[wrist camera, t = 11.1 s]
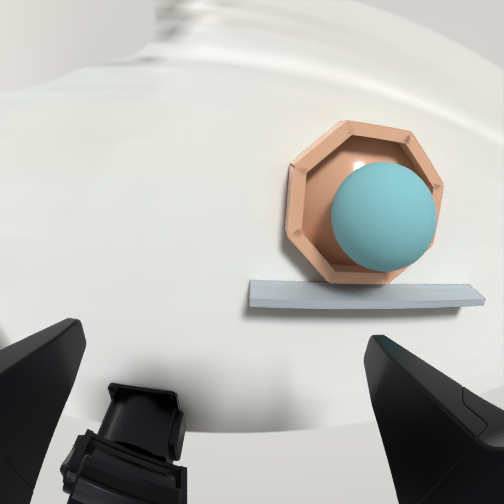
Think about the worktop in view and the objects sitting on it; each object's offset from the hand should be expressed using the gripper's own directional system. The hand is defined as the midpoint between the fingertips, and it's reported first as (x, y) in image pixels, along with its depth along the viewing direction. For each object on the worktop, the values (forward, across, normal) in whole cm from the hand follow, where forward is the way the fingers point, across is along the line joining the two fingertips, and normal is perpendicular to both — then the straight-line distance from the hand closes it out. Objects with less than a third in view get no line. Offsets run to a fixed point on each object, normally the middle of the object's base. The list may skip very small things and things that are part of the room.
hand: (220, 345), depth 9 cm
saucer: (+12, -8, -2) cm, 15 cm away
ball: (+9, -8, -2) cm, 12 cm away
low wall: (+12, -10, +4) cm, 16 cm away
